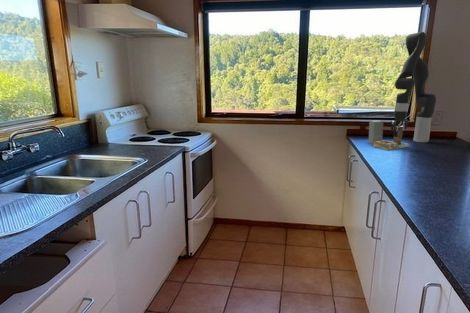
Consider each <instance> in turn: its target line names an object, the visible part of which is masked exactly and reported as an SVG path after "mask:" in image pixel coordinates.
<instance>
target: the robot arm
mask: <svg viewBox="0 0 470 313" xmlns="http://www.w3.org/2000/svg"><path fill="white" fill-rule="evenodd" d="M427 41H428V37H427V33H426V32H424V31H419V32H413V33H410V34H407V35H406V37H405V46H406V50H407V54H408V57H407V58H406V60H405V61H404V62H403V65H402V69H401V71H400V74H399V76H398V77H397V78H396V80H395V82H394V88H395V89H396V90H404V92H401V93H397V94H396V98H395V99H396V100H395V106H394V111H393V117H394V120H391V121H390V130H391V131H392V132H393V133H392V137H393V138H394V137H397V130H398V128H399V127H402V128H403V132H402V137H403V136H404V131H405V130H406V129H407V126H408V123H409V120H408V119H407V117H408V113H409V112H408V111H409V101H410V100H409V99H410V95H411V92H412V90H413V89H414V91H415V104H416V106H418V107H420V108H423V110H422V111H418V112H417V113H416V118H415V119H416V120H415V125H414V127H415V128H414V134H413V142H416V143H428V142H430V134H431V124H432V118H433V115H434V111H435V107H436V103H437V97H436V95H435V94H434V93H426V92H425V84H426V83H427V80H428V78H429V74H430V73H429V67H428V64H427V62H426V61H425V60H424V59H423V58H422V57H421V55H422V53H423V51H424V49H425V47H426V44H427Z"/></svg>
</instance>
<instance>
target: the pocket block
mask: <svg viewBox="0 0 470 313" xmlns="http://www.w3.org/2000/svg"><path fill="white" fill-rule="evenodd" d="M373 148H377V149H380V150H381V149H382V150H384V151H391V150H396V149H397V150H398V149H399V148H398V143H396V142H393V141H390V140H385V139H384V140H383V139H382V141H375V142H374V144H373Z"/></svg>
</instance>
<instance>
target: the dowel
mask: <svg viewBox="0 0 470 313" xmlns="http://www.w3.org/2000/svg"><path fill="white" fill-rule="evenodd" d="M402 132H403V133H404V131H403V128H402V127H399V128H398V130H397V137H393V141H392V142H396V143H398V145H401V143H402V138H403V136H402Z"/></svg>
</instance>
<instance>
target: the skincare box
mask: <svg viewBox="0 0 470 313" xmlns="http://www.w3.org/2000/svg"><path fill="white" fill-rule="evenodd" d="M368 125H369V126H368V143H369V144H372V145H374V142H375V141H383V137H384V134H383V133H384V121H383V120H378V119H377V120H369V124H368Z"/></svg>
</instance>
